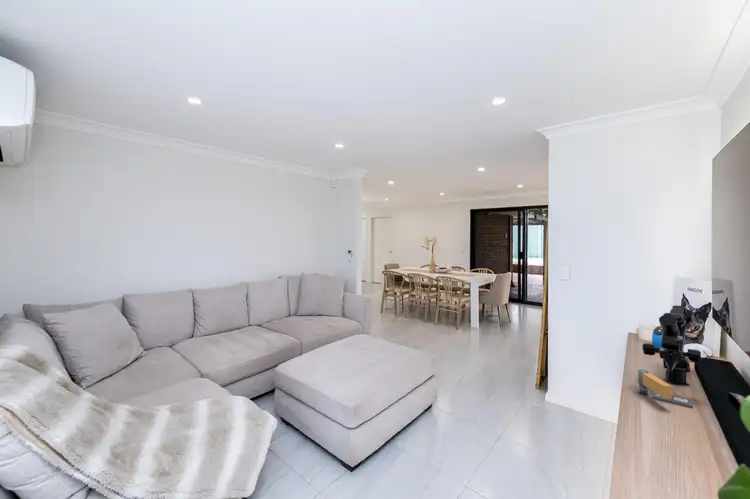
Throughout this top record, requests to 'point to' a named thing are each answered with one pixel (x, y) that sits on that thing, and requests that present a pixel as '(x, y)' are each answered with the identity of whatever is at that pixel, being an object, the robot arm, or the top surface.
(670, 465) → the top surface
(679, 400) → the label plate
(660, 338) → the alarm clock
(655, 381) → the swing bar
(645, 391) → the grey grooved cylinder
